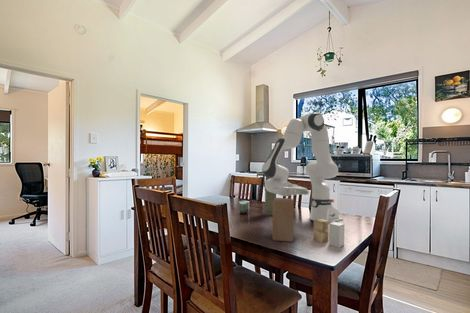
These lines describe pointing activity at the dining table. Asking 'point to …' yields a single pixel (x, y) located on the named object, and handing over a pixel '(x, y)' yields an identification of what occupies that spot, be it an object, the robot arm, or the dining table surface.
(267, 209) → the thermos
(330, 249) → the dining table surface
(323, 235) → the oak block
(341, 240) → the grey block
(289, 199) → the block
